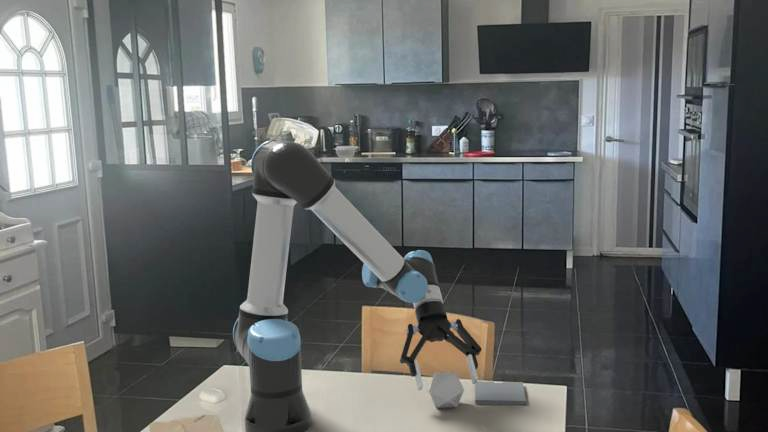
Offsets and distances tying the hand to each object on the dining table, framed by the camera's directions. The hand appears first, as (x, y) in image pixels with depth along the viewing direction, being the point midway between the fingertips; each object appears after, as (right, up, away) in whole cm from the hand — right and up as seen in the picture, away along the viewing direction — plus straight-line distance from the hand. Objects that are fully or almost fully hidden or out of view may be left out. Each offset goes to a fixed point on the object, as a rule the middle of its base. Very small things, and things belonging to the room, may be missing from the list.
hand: (448, 385), depth 185 cm
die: (0, -6, +3) cm, 6 cm away
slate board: (+13, -4, +8) cm, 16 cm away
